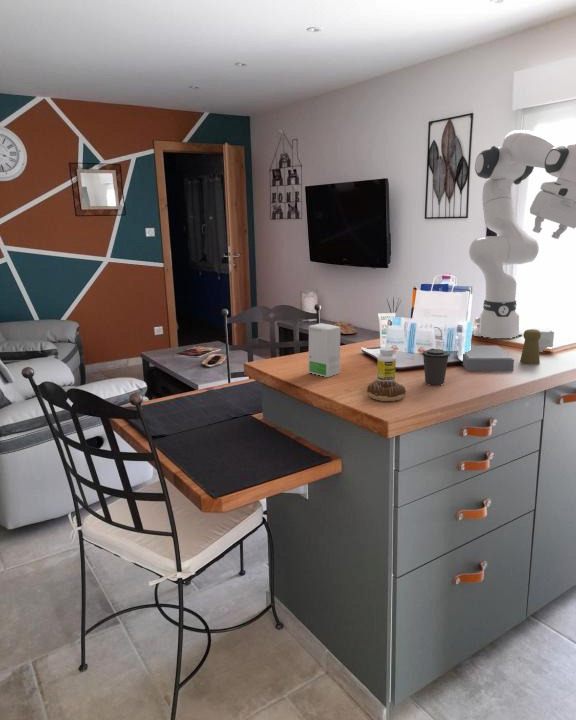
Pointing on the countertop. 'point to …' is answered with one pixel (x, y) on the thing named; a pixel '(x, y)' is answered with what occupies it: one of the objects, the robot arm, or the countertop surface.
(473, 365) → the plinth
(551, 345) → the skincare box
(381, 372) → the supplement bottle
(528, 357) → the cork
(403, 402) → the countertop surface
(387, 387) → the donut
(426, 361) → the coffee cup
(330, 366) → the skincare box
